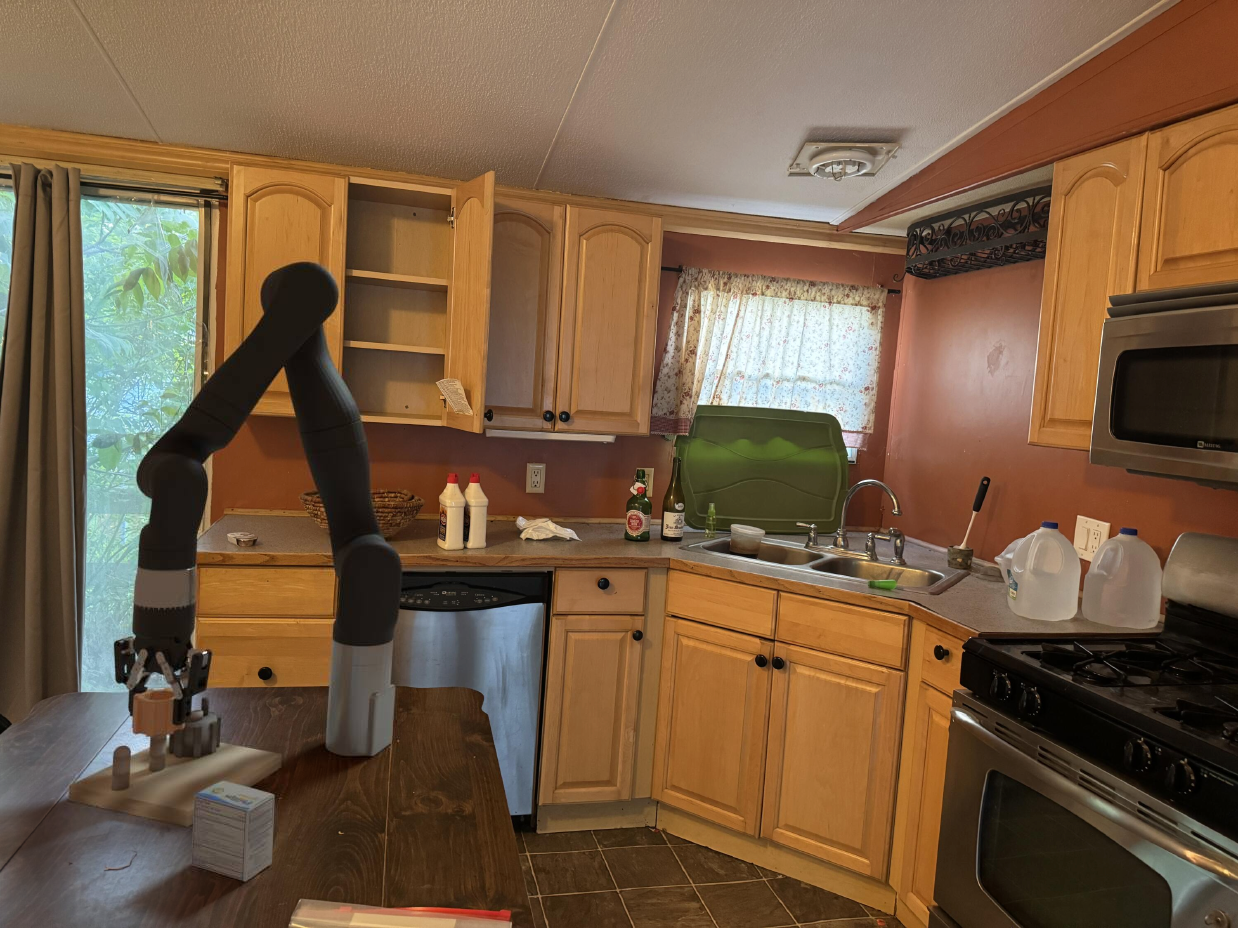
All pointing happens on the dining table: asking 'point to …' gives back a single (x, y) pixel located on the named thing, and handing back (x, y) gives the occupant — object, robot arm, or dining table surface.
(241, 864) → the medicine box
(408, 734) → the dining table surface
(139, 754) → the gear board
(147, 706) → the loose gear
